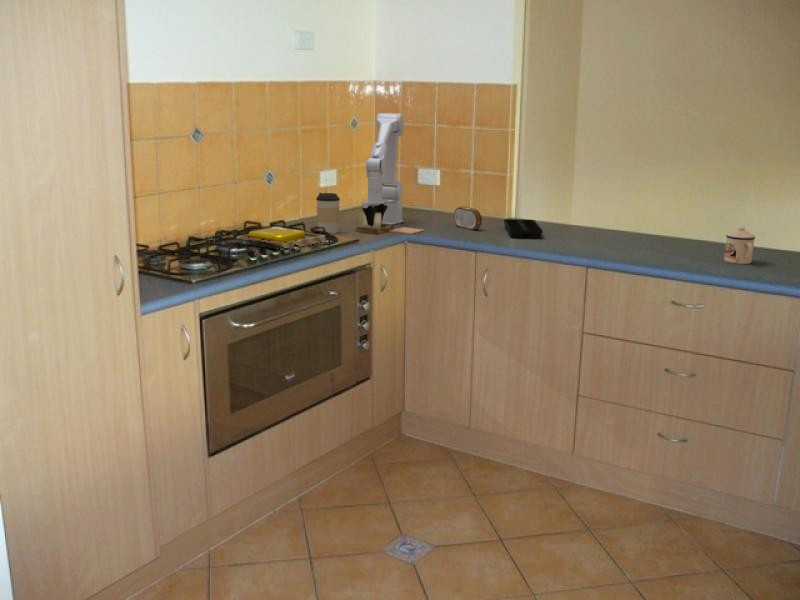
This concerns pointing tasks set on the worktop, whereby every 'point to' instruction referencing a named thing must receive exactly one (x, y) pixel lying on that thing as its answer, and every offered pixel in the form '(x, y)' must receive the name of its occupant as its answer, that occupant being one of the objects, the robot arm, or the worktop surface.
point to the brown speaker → (468, 218)
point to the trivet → (406, 230)
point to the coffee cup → (328, 211)
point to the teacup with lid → (739, 246)
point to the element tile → (278, 234)
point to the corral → (303, 242)
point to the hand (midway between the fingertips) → (374, 224)
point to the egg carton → (523, 229)
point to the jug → (376, 221)
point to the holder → (375, 231)
